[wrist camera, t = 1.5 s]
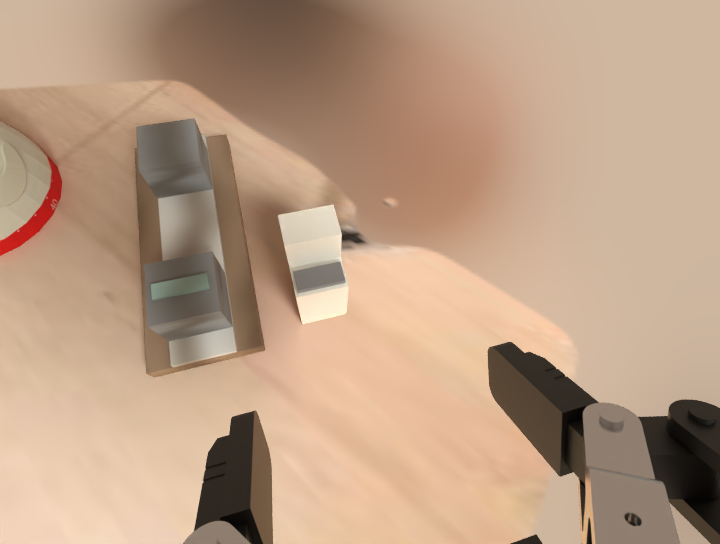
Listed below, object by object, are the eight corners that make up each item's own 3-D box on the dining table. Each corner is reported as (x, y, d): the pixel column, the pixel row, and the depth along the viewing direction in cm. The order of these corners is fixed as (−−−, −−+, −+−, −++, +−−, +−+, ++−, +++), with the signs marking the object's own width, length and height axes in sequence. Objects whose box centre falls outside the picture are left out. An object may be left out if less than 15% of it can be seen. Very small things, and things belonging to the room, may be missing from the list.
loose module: (302, 324, 35) (291, 278, 26) (291, 274, 37) (277, 215, 28) (346, 313, 36) (350, 265, 27) (333, 265, 38) (333, 204, 29)
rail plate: (154, 377, 32) (115, 360, 27) (141, 158, 41) (110, 111, 36) (265, 350, 34) (251, 328, 28) (229, 144, 43) (213, 96, 37)
